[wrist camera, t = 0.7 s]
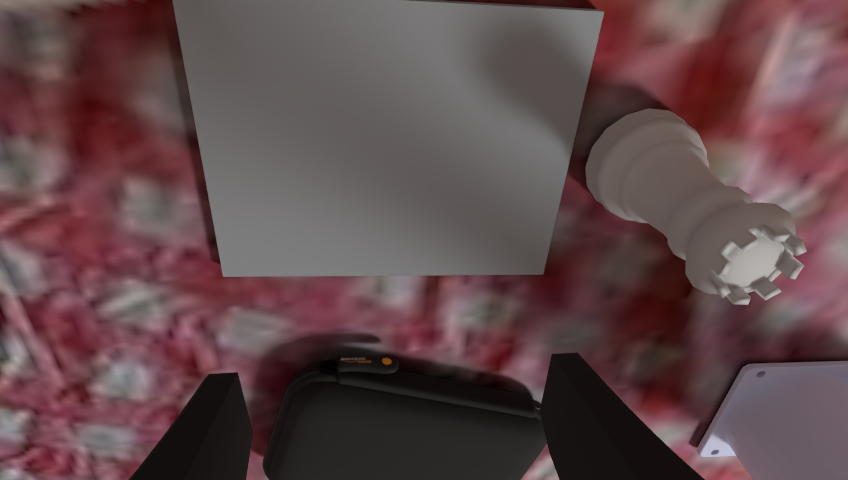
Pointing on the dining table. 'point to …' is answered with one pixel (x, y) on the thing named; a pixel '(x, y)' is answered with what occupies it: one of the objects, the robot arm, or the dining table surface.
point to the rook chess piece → (692, 206)
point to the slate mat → (385, 131)
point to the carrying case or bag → (399, 426)
